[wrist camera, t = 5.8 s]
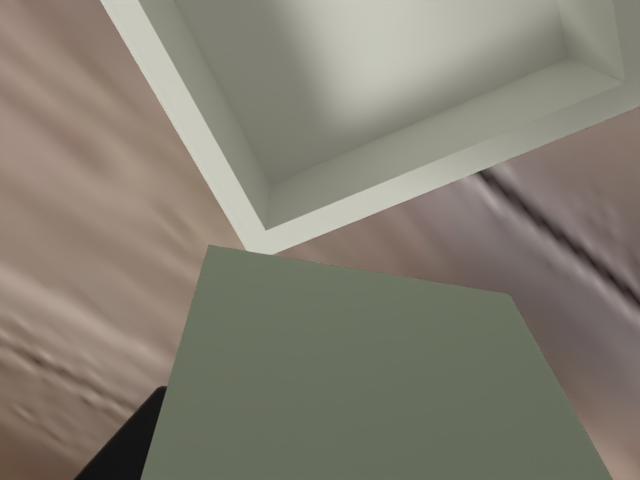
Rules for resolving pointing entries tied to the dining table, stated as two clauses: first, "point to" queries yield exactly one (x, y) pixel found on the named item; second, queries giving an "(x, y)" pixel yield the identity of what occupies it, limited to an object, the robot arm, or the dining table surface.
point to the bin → (371, 95)
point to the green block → (359, 382)
